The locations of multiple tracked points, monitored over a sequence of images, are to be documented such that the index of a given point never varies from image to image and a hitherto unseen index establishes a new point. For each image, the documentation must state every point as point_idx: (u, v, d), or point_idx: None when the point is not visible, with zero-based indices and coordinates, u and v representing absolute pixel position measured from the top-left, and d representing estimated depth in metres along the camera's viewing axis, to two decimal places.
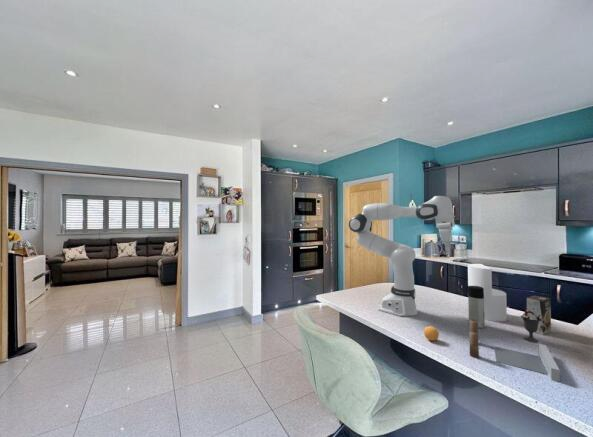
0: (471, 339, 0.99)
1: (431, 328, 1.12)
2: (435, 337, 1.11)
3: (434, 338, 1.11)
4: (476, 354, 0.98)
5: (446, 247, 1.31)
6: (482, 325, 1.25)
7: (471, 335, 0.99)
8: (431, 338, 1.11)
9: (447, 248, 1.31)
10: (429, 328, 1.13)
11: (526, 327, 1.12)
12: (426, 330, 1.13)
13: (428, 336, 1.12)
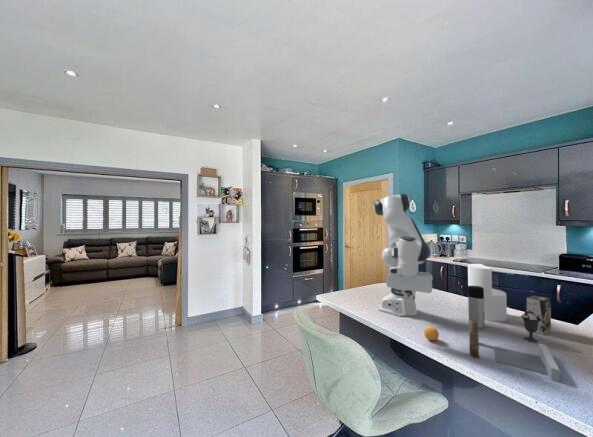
0: (471, 339, 0.99)
1: (431, 328, 1.12)
2: (435, 337, 1.11)
3: (434, 338, 1.11)
4: (476, 354, 0.98)
5: None
6: (482, 325, 1.25)
7: (471, 335, 0.99)
8: (431, 338, 1.11)
9: (404, 296, 1.20)
10: (429, 328, 1.13)
11: (526, 327, 1.12)
12: (426, 330, 1.13)
13: (428, 336, 1.12)
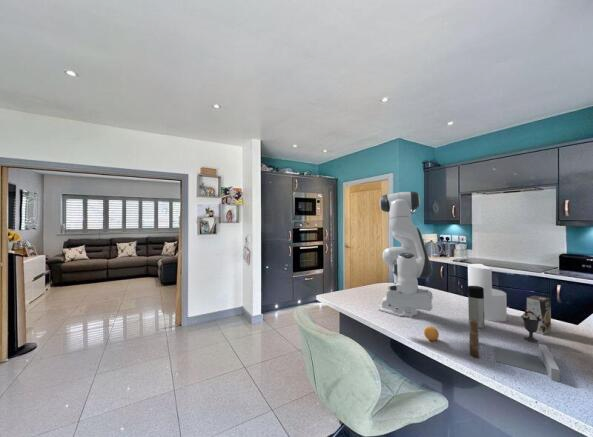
0: (471, 339, 0.99)
1: (431, 328, 1.12)
2: (435, 337, 1.11)
3: (434, 338, 1.11)
4: (476, 354, 0.98)
5: None
6: (482, 325, 1.25)
7: (471, 335, 0.99)
8: (431, 338, 1.11)
9: None
10: (429, 328, 1.13)
11: (526, 327, 1.12)
12: (426, 330, 1.13)
13: (428, 336, 1.12)
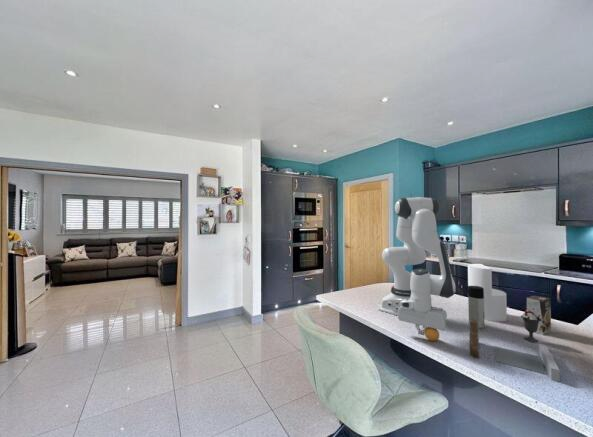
0: (471, 339, 0.99)
1: (432, 329, 1.12)
2: (435, 338, 1.10)
3: (434, 339, 1.11)
4: (476, 354, 0.98)
5: None
6: (482, 325, 1.25)
7: (471, 335, 0.99)
8: (431, 338, 1.11)
9: None
10: (430, 328, 1.12)
11: (526, 327, 1.12)
12: (427, 330, 1.13)
13: (428, 336, 1.11)
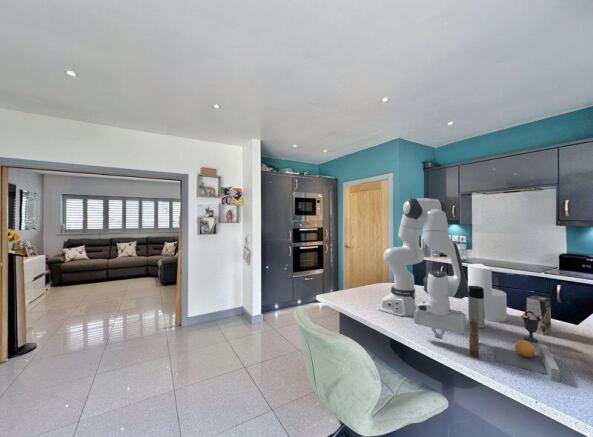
0: (471, 339, 0.99)
1: (522, 355, 0.98)
2: (520, 345, 0.99)
3: (522, 344, 0.98)
4: (476, 354, 0.98)
5: None
6: (482, 325, 1.25)
7: (471, 335, 0.99)
8: (526, 346, 0.97)
9: (435, 335, 1.12)
10: (525, 356, 0.98)
11: (526, 327, 1.12)
12: (530, 355, 0.97)
13: (529, 349, 0.97)
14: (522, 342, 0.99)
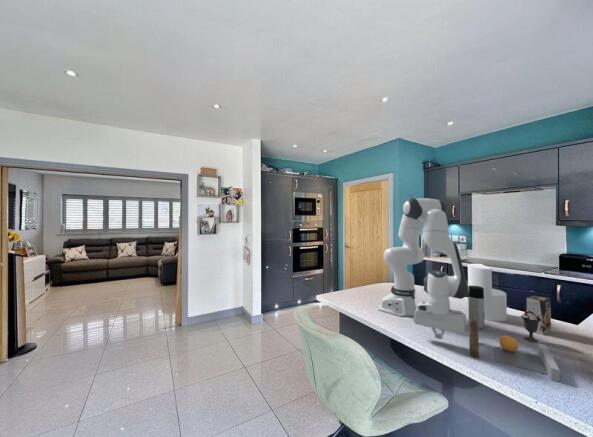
0: (471, 339, 0.99)
1: (513, 347, 1.00)
2: (502, 346, 1.03)
3: (501, 344, 1.04)
4: (476, 354, 0.98)
5: None
6: (482, 325, 1.25)
7: (471, 335, 0.99)
8: (501, 342, 1.04)
9: (435, 335, 1.12)
10: (513, 345, 1.00)
11: (526, 327, 1.12)
12: (511, 341, 1.01)
13: (503, 340, 1.03)
14: (500, 344, 1.05)
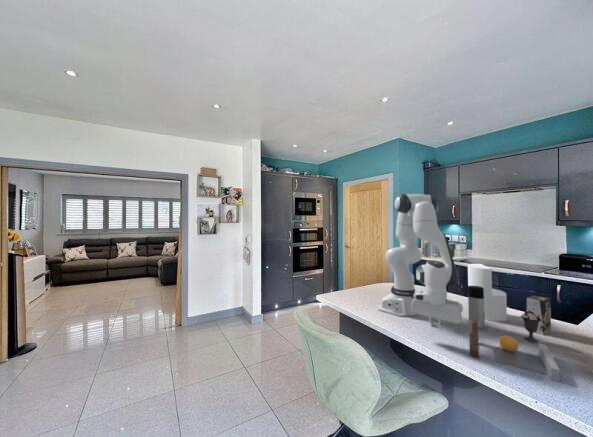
0: (471, 339, 0.99)
1: (513, 347, 1.00)
2: (502, 346, 1.03)
3: (501, 344, 1.04)
4: (476, 354, 0.98)
5: None
6: (482, 325, 1.25)
7: (471, 335, 0.99)
8: (501, 342, 1.04)
9: (431, 324, 1.13)
10: (513, 345, 1.00)
11: (526, 327, 1.12)
12: (511, 341, 1.01)
13: (503, 340, 1.03)
14: (500, 344, 1.05)
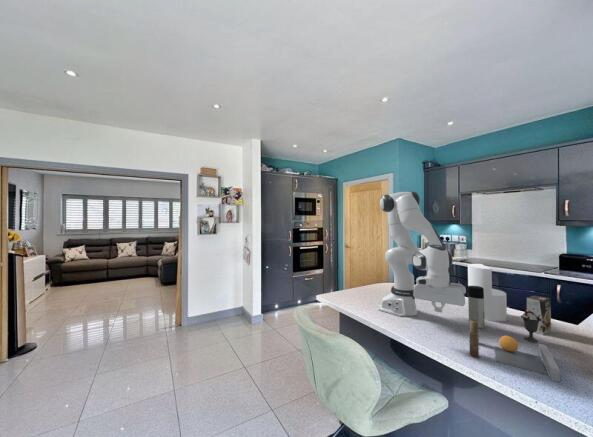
0: (471, 339, 0.99)
1: (513, 347, 1.00)
2: (502, 346, 1.03)
3: (501, 344, 1.04)
4: (476, 354, 0.98)
5: None
6: (482, 325, 1.25)
7: (471, 335, 0.99)
8: (501, 342, 1.04)
9: None
10: (513, 345, 1.00)
11: (526, 327, 1.12)
12: (511, 341, 1.01)
13: (503, 340, 1.03)
14: (500, 344, 1.05)
